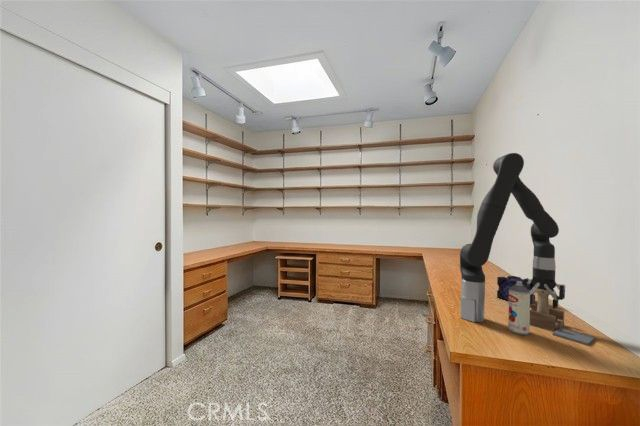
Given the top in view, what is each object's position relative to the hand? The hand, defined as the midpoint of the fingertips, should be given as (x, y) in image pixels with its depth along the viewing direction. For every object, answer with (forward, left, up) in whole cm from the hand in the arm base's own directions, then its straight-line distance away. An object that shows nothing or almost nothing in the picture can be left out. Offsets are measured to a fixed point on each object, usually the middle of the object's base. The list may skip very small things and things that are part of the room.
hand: (543, 305), depth 115 cm
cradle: (0, 0, -8) cm, 8 cm away
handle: (0, 0, -8) cm, 8 cm away
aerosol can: (-18, +3, -8) cm, 20 cm away
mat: (-5, -11, -8) cm, 14 cm away
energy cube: (+26, +20, -8) cm, 33 cm away
